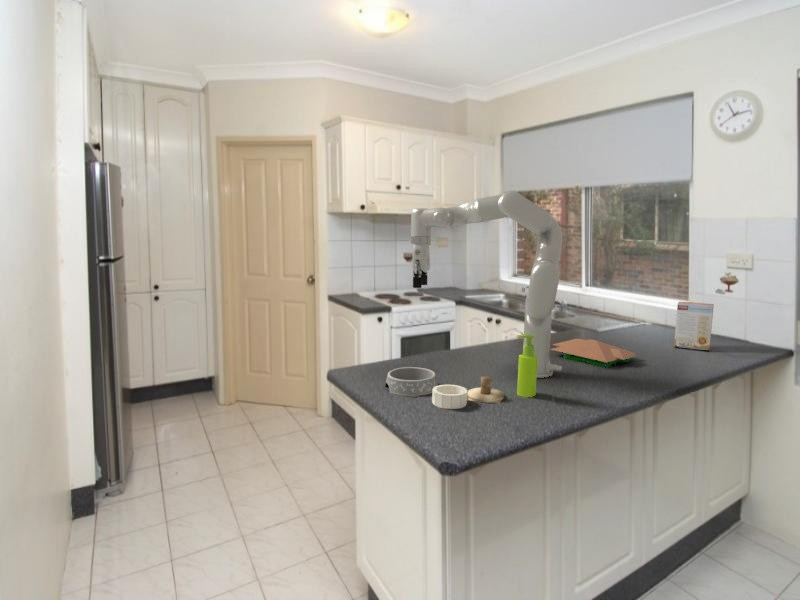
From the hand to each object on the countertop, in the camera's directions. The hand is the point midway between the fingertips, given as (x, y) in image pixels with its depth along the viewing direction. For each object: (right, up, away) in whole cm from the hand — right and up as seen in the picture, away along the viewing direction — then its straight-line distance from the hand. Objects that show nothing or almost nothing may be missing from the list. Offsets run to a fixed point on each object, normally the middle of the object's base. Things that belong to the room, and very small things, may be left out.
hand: (420, 286), depth 197 cm
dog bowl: (-4, -35, -24) cm, 43 cm away
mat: (+19, -36, -34) cm, 53 cm away
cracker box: (+124, -28, +36) cm, 132 cm away
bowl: (+7, -37, -40) cm, 55 cm away
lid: (+19, -36, -34) cm, 53 cm away
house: (+72, -30, +18) cm, 80 cm away
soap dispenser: (+33, -36, -31) cm, 58 cm away
